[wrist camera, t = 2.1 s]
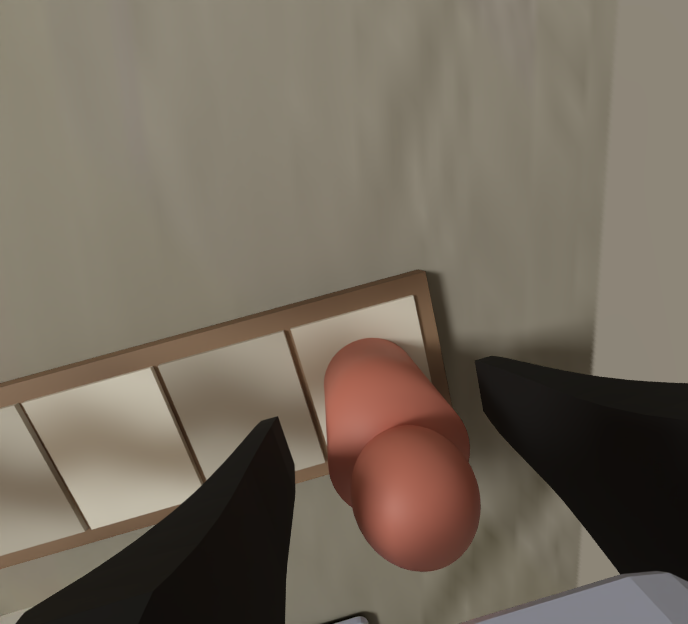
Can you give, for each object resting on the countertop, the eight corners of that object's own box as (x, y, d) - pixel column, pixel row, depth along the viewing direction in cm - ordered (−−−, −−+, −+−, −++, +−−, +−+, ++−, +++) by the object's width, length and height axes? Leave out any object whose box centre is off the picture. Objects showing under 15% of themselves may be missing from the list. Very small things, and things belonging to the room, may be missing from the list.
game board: (449, 424, 16) (459, 439, 15) (-13, 557, 15) (-40, 583, 14) (417, 269, 14) (426, 271, 13) (-110, 413, 13) (-150, 429, 12)
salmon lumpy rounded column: (423, 410, 14) (544, 597, 7) (337, 434, 14) (359, 651, 7) (405, 327, 13) (520, 433, 6) (313, 352, 13) (307, 493, 6)
